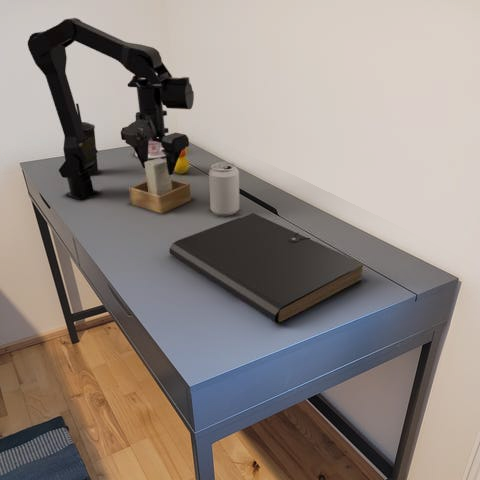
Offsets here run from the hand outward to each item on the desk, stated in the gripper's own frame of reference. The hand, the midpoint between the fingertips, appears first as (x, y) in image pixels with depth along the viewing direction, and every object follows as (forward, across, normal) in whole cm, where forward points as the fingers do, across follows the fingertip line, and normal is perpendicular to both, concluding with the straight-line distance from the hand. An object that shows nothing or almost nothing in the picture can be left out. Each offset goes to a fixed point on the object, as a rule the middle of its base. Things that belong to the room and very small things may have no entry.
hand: (157, 171), depth 125 cm
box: (+9, 0, 0) cm, 9 cm away
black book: (+8, +43, -14) cm, 46 cm away
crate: (+8, 0, 0) cm, 8 cm away
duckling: (+9, -12, +21) cm, 26 cm away
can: (+9, +18, +5) cm, 21 cm away
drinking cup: (+8, -35, +5) cm, 36 cm away
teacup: (+9, -33, +30) cm, 45 cm away
